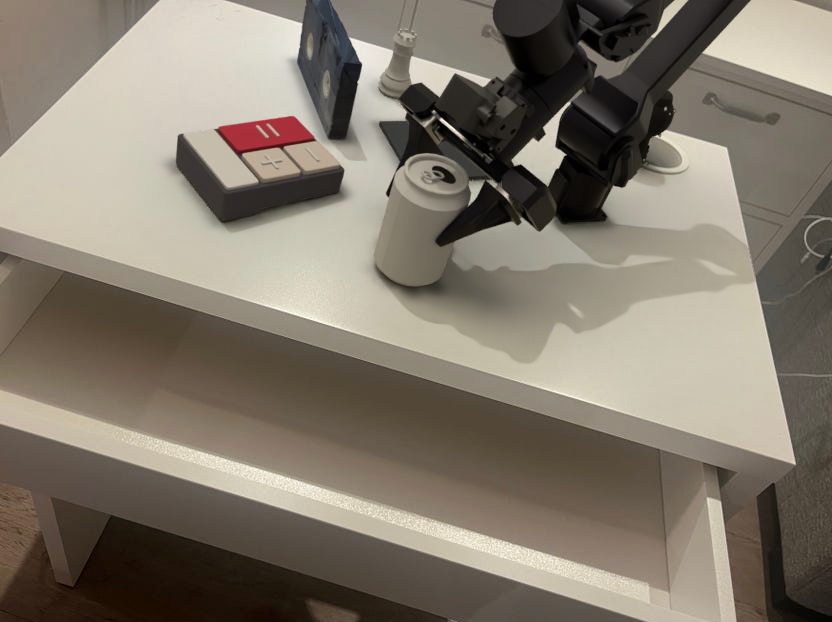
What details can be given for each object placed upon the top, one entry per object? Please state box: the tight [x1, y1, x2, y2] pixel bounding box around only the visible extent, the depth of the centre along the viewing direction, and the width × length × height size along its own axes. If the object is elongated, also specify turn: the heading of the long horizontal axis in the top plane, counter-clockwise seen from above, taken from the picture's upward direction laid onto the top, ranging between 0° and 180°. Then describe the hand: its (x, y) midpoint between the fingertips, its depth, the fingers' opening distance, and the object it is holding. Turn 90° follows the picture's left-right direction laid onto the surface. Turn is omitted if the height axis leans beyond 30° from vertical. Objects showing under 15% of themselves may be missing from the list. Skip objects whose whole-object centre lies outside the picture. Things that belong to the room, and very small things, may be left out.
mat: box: [378, 120, 491, 181], centre depth 95 cm, size 14×12×1 cm
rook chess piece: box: [377, 27, 419, 99], centre depth 100 cm, size 4×4×8 cm
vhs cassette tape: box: [296, 0, 363, 139], centre depth 95 cm, size 18×3×10 cm, turn 13°
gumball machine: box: [638, 90, 677, 167], centre depth 99 cm, size 7×6×10 cm
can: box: [373, 153, 472, 287], centre depth 75 cm, size 8×8×12 cm
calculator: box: [175, 115, 346, 222], centre depth 83 cm, size 11×4×15 cm
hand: (412, 220), depth 74 cm, fingers closed on can, 7 cm apart
